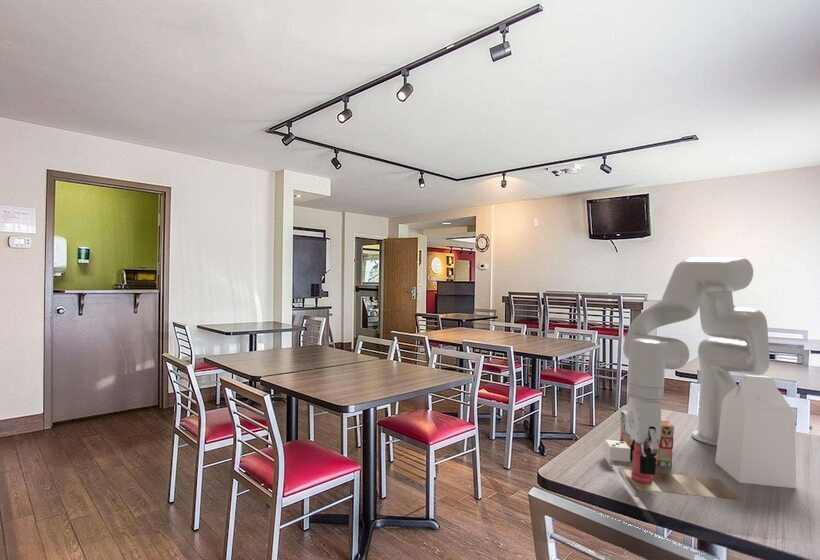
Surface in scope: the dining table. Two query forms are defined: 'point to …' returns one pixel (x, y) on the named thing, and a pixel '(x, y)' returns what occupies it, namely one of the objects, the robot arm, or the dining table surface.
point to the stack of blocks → (664, 447)
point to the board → (683, 485)
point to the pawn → (636, 472)
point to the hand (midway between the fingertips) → (642, 466)
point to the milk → (757, 434)
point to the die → (616, 451)
